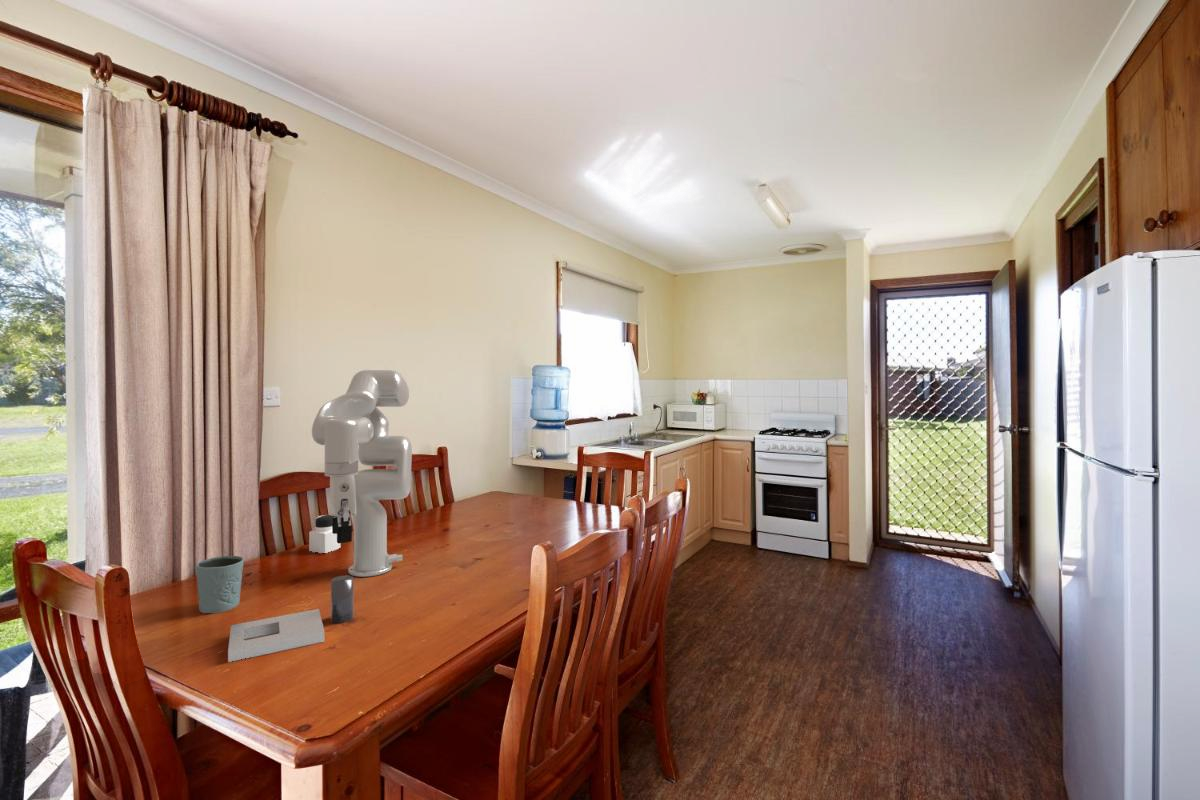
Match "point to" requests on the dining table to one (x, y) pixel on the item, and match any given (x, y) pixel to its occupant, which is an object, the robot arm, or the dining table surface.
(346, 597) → the dark grey peg block
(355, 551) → the robot arm
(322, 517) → the medicine bottle
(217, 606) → the teal embossed planter pot
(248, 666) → the dining table surface
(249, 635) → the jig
